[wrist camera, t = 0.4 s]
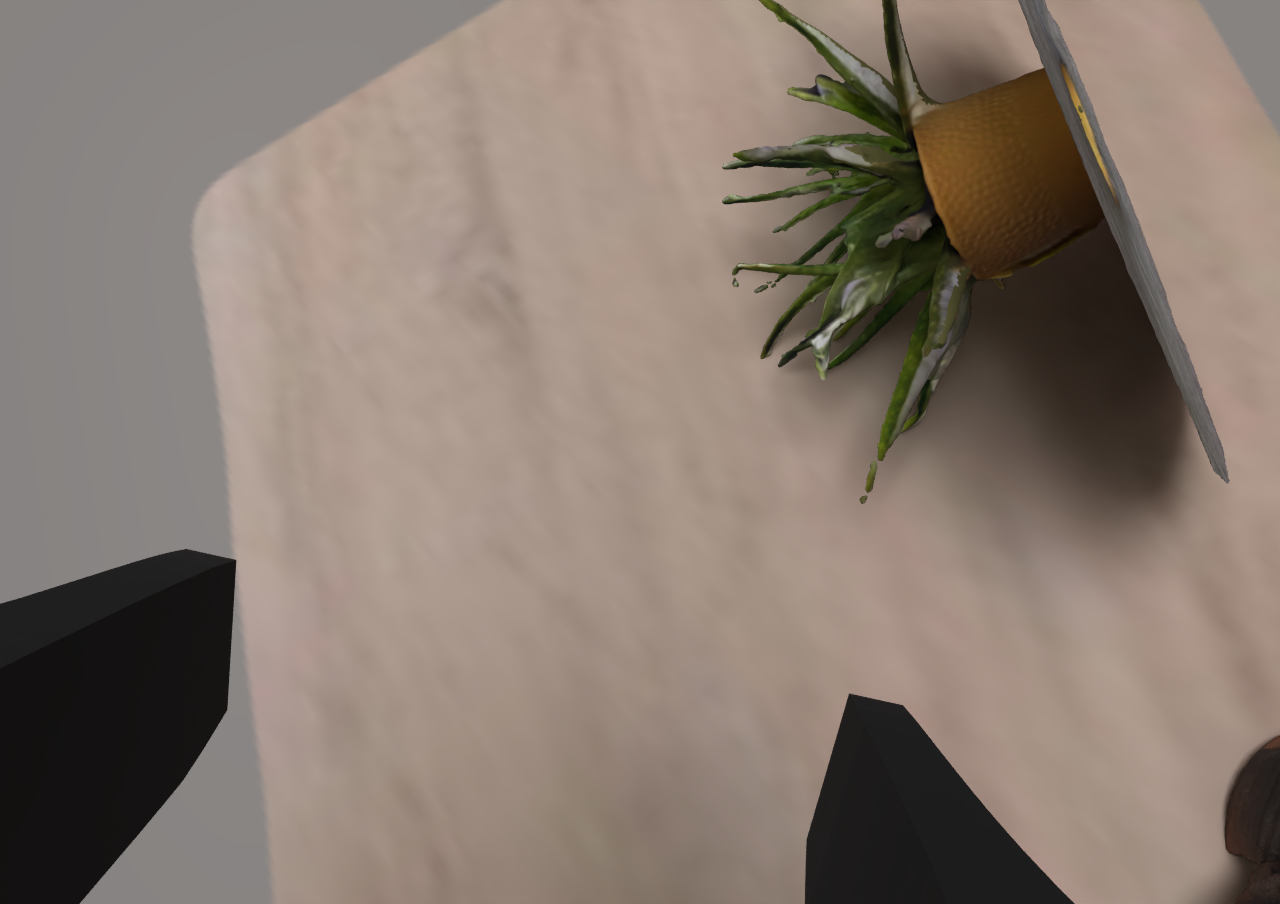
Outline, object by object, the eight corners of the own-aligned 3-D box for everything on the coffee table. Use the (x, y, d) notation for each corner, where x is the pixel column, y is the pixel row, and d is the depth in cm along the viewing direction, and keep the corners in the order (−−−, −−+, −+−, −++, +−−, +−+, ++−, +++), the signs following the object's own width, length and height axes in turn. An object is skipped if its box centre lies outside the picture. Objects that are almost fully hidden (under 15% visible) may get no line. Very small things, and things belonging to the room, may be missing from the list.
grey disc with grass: (846, 140, 58) (500, -80, 40) (1181, -40, 47) (913, -455, 29) (936, 589, 51) (569, 568, 33) (1352, 501, 40) (1141, 400, 22)
